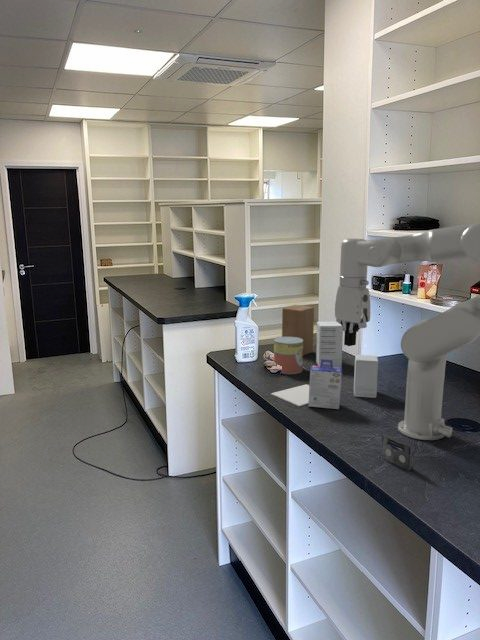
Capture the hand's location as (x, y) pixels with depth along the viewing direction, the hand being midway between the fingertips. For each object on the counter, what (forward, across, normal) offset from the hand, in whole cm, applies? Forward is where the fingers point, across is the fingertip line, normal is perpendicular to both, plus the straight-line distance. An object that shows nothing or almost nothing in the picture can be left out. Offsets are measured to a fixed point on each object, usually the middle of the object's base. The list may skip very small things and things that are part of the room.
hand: (349, 344), depth 151 cm
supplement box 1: (+22, +42, -34) cm, 58 cm away
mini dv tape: (+22, -28, +13) cm, 38 cm away
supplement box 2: (+22, +10, -19) cm, 31 cm away
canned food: (+22, +46, -16) cm, 53 cm away
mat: (+22, +21, -1) cm, 30 cm away
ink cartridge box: (+22, +10, 0) cm, 24 cm away
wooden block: (+22, +63, -36) cm, 76 cm away
